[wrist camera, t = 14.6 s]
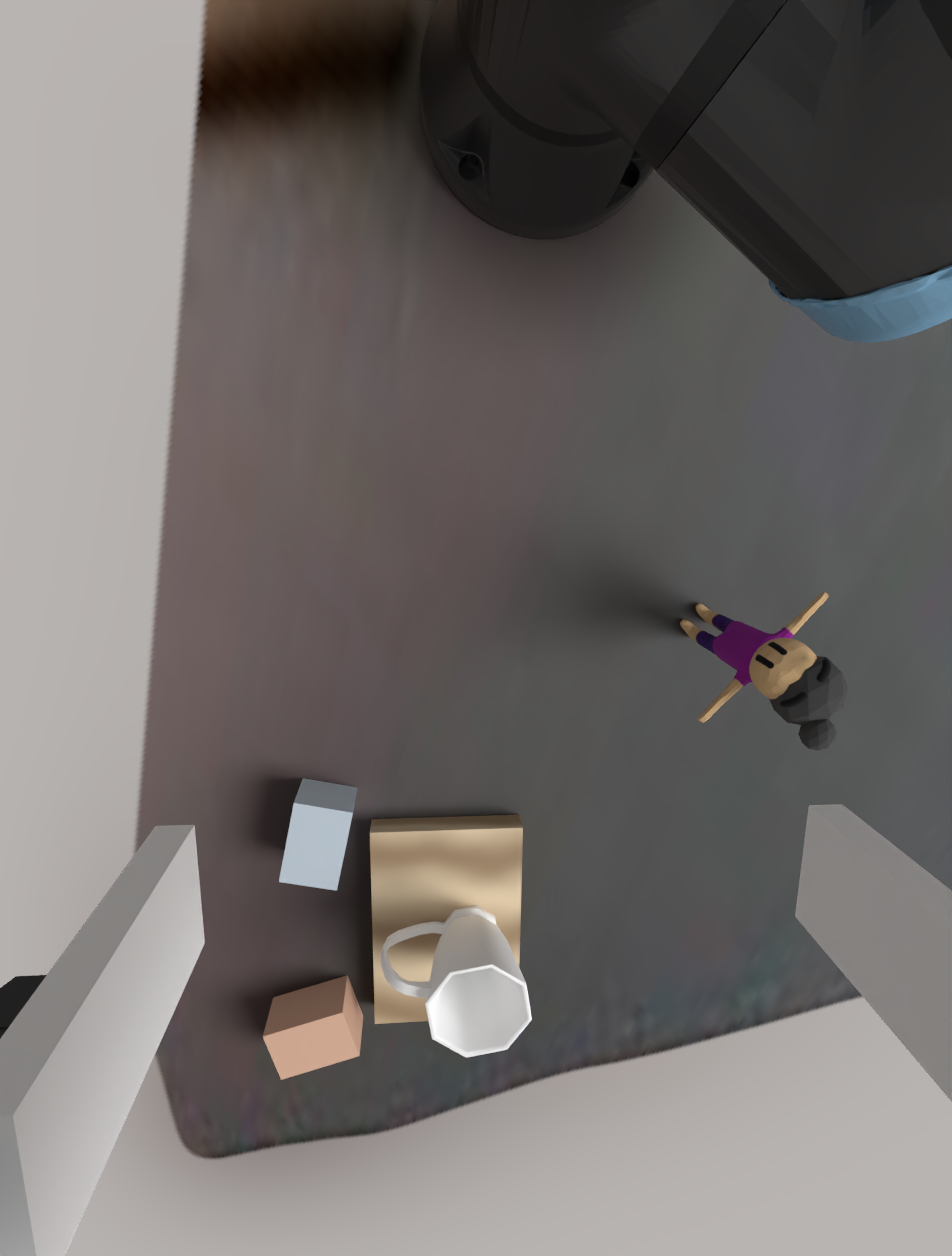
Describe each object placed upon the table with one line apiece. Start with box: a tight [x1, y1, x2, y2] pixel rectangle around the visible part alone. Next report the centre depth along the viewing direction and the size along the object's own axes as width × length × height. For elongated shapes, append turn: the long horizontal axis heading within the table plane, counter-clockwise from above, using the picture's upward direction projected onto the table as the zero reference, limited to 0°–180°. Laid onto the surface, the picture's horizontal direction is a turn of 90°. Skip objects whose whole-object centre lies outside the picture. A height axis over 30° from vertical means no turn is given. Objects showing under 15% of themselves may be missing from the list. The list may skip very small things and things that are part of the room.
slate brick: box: [279, 778, 357, 891], centre depth 50 cm, size 6×4×4 cm, turn 167°
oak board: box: [370, 815, 523, 1024], centre depth 53 cm, size 16×11×2 cm
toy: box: [680, 592, 848, 750], centre depth 44 cm, size 10×6×15 cm, turn 137°
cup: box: [381, 906, 532, 1058], centre depth 48 cm, size 7×10×8 cm
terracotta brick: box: [263, 975, 363, 1080], centre depth 53 cm, size 6×4×4 cm, turn 106°
